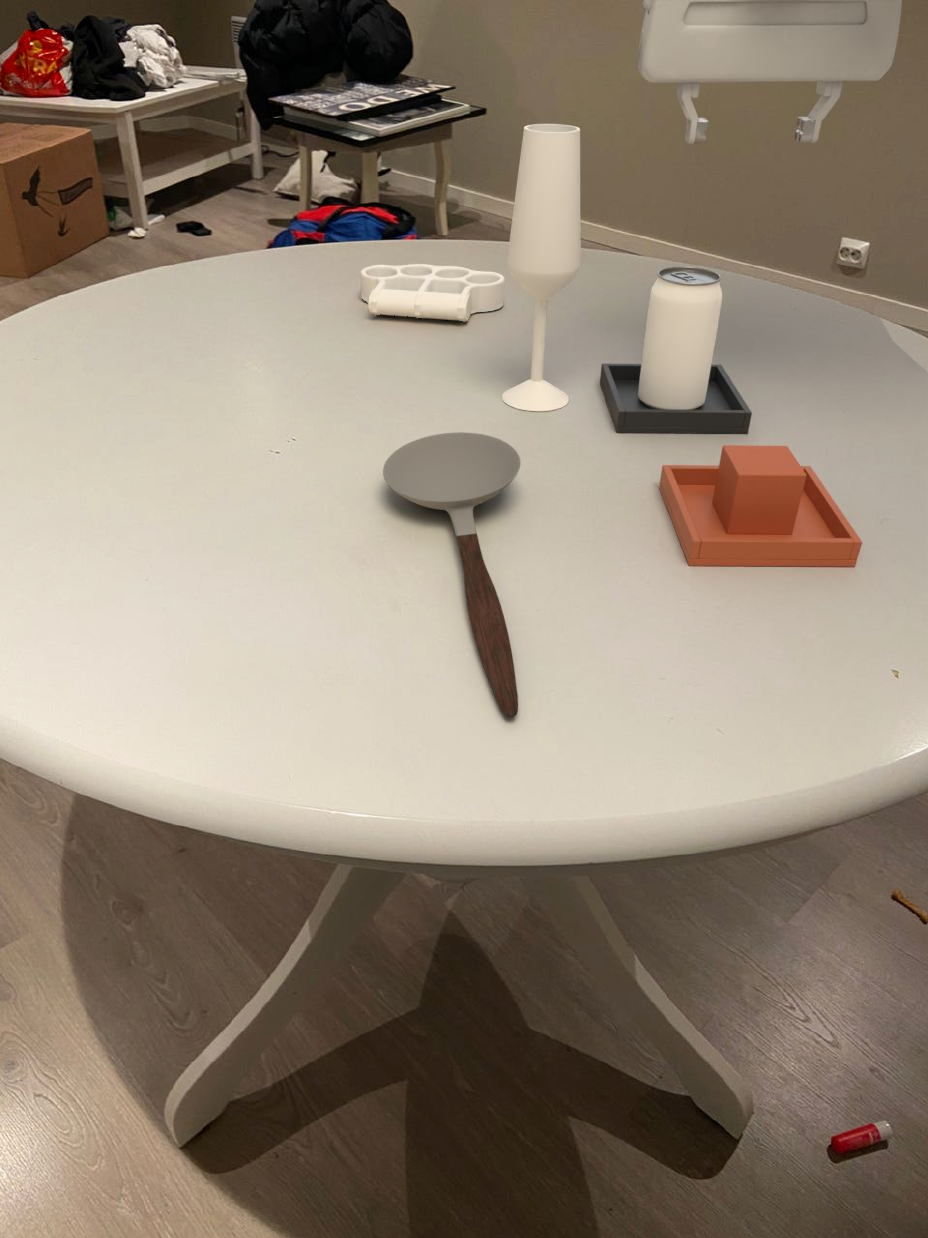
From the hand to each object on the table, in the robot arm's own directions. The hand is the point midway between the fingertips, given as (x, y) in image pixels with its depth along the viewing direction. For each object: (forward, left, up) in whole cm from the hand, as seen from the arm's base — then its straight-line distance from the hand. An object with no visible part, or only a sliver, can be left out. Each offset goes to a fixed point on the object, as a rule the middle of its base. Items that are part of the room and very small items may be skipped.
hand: (750, 142), depth 81 cm
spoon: (+24, +32, -23) cm, 46 cm away
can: (+4, +2, -23) cm, 23 cm away
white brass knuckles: (+28, -29, -23) cm, 47 cm away
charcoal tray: (+4, +2, -23) cm, 24 cm away
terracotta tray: (+2, +25, -23) cm, 34 cm away
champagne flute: (+17, 0, -23) cm, 29 cm away
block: (+2, +25, -23) cm, 34 cm away
